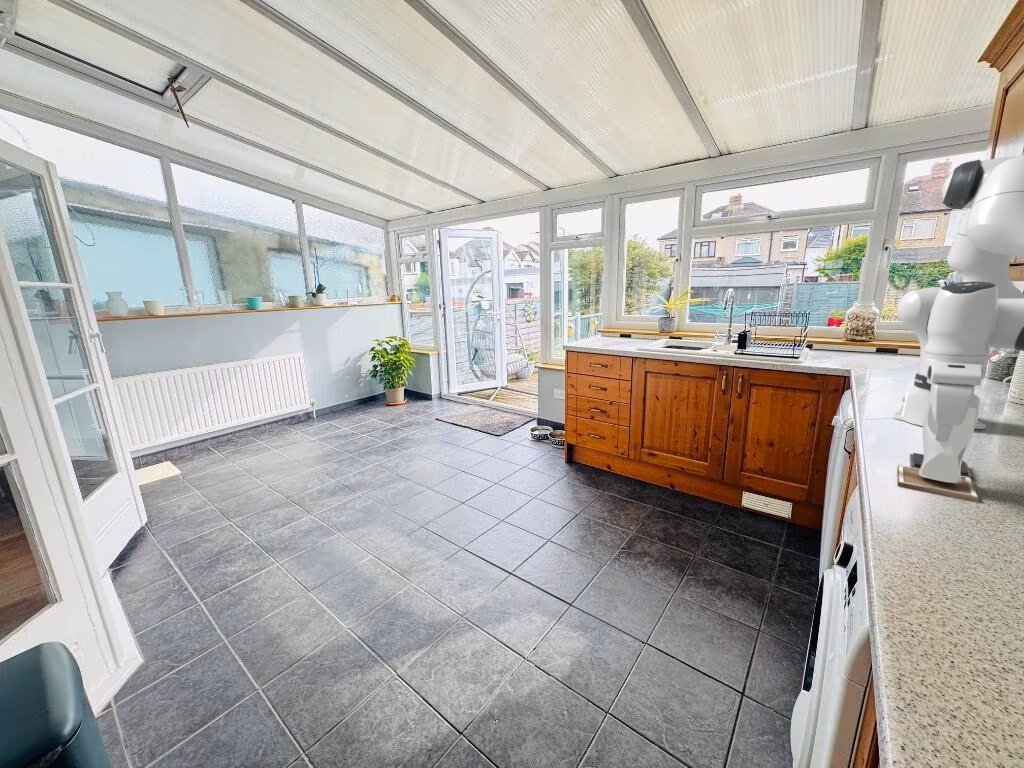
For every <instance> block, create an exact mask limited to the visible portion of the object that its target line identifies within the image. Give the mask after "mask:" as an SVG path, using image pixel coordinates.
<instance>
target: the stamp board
mask: <svg viewBox="0 0 1024 768" xmlns="http://www.w3.org/2000/svg"><path fill="white" fill-rule="evenodd" d="M896 469H897V471H896V475H897V480H896V481H897V487H898V486H900V487H899V488H903V487H904V489H908V488H910V489H909V490H914V491H919V490H920V491H919V492H924V491H925V492H924V493H929V492H930V494H933V495H939V496H944V497H948V498H954V499H959V498H960V499H959V500H964V499H966V500H965V501H969V500H970V501H969V502H974V503H979V499H980V498H979V495H978V492H977V490H976V487H975V486H974V483H973V480H972V479H971V478H970V477H966V476H961V484H955V483H948V482H943V481H938V480H933V479H929V478H925V477H921V476H919V475H918V472H919V470H920V468H914V467H910V466H907V465H902V464H898V465H897V467H896Z"/></svg>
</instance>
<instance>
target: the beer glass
mask: <svg viewBox="0 0 1024 768" xmlns="http://www.w3.org/2000/svg"><path fill="white" fill-rule="evenodd" d="M975 416H976V408H970V407H969V409H968V411H967V414H966V417H965V419H964V421H963V423H962V424H961V425H954V426H953V429H952V431H951V433H950V436H949V441H948V442H939V441H936V439H935V434H936V430H937V423H936V422H935V421H934V417H933V413H932V403H929V406H928V409H927V412H926V416H925V420H924V425H923V426H922V440H923V441H922V443H923V445H922V446H923V454H924V458H923V463H922V465H921V468H920V470H919V472H918V475H919V476H921V477H925V478H929V479H933V480H938V481H943V482H948V483H955V484H961V464H962V460H963V461H964V458H965V455H966V453H967V452H968V449H969V446H970V445H971V442H972V440H973V437H974V432H975V429H974V428H975Z"/></svg>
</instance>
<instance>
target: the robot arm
mask: <svg viewBox="0 0 1024 768" xmlns="http://www.w3.org/2000/svg"><path fill="white" fill-rule="evenodd" d="M941 198H942V204H943V205H944V206H945V207H947V208H949V209H954V210H963V209H967V210H966V212H965V213H964V215H963V217H962V220H961V221H960V223H959V226H958V228H957V231H956V233H955V236H954V239H953V241H952V244H951V246H950V248H949V249H950V250H948V254H947V257H946V262H947V266H948V267H949V268H950V269H951V270H953V271H954V272H957V273H959V274H961V275H962V281H961V282H953V283H949V284H946V285H944V286H930V287H925V288H919V289H914V290H911V291H908V292H906V293H905V294H904V295H903V296H902V297H901V298H900V299H899V300H898V303H897V306H896V315H897V317H898V319H899V320H900V321H901V323H903V324H904V325H906V326H907V327H908V328H909V329H911V330H912V331H913V333H914V334H915V335H916V337H917V339H918V342H919V346H920V347H919V348H920V349H919V350H920V352H919V354H920V355H919V363H918V364H919V366H918V371H917V373H916V374H915V375H914V376H915V377H914V379H913V380H914V381H913V388H912V389H910V390H908V391H907V392H906V393H905V394H904V395H903V396H902V399H901V401H902V403H903V404H902V405H901V408H900V409H899V410H897V411H896V412H895V413H894V414H893V416H892V418H893V419H895V420H899V421H903V422H906V423H909V424H911V425H912V424H913V425H916V426H921V427H923V425H924V420H925V416H926V412H927V409H928V406H929V403H932V413H933V417H934V421H935V422H936V423H937V430H936V434H935V439H936V441H939V442H948V441H949V436H950V433H951V431H952V429H953V426H954V425H961V424H962V423H963V421H964V419H965V417H966V414H967V411H968V409H969V407H970V408H976V416H975V428H974V430H986V427H987V426H986V424H984V423H982V422H981V421H979V420H978V419H979V414H980V413H979V412H980V406H981V405H980V404H981V399H980V398H979V397H978V396H977V395H975V388H976V386H977V387H978V386H980V385H981V384H982V381H983V380H984V379H985V376H986V372H987V367H988V362H989V359H990V358H989V357H990V348H992V349H1008V350H1016V351H1022V352H1024V293H1023V292H1022V291H1021V290H1020V289H1019V288H1018V287H1016V286H1015V285H1014V284H1013V282H1012V281H1011V278H1010V275H1009V274H1010V273H1009V265H1010V261H1011V259H1012V256H1013V257H1018V258H1021V259H1024V154H1022V155H1013V156H1012V155H1011V156H1004V157H997V158H991V159H984V160H981V159H976V160H971V161H967V162H963V163H961V164H959V165H958V166H957V167H955V168H954V169H953V170H952V172H951V173H950V174H949V175H948V177H946V179H945V181H944V183H943V185H942V189H941Z"/></svg>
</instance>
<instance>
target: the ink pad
mask: <svg viewBox="0 0 1024 768" xmlns="http://www.w3.org/2000/svg"><path fill="white" fill-rule="evenodd" d="M923 458H924V453H916V452H912V453H910V454H909V467H914V468H921V465H922V463H923ZM961 476H966V477H970V478H971V480H972V479H973V475H972V473H971V471H970V468H969V466H968V463H967V462H966V461H965V460H964V459H963V460H962V464H961Z"/></svg>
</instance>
